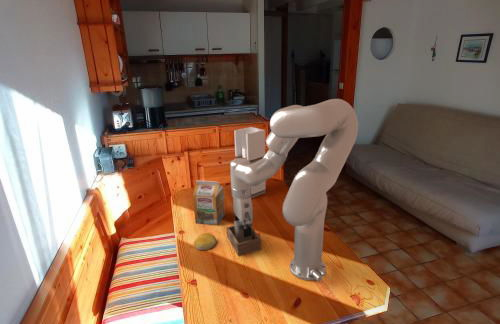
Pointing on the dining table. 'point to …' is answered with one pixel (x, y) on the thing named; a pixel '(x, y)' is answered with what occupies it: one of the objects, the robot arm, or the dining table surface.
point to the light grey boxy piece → (251, 151)
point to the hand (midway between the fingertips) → (243, 230)
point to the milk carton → (208, 203)
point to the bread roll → (205, 241)
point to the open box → (244, 246)
